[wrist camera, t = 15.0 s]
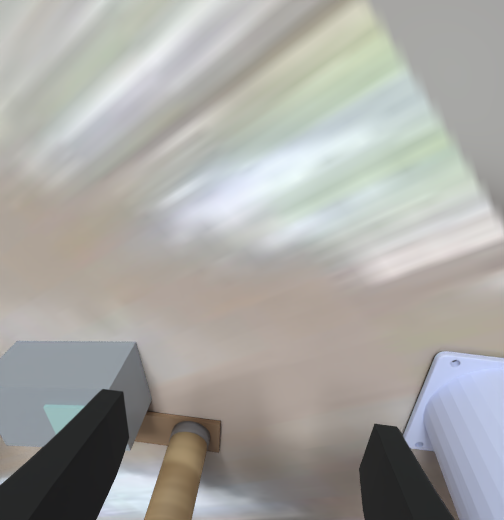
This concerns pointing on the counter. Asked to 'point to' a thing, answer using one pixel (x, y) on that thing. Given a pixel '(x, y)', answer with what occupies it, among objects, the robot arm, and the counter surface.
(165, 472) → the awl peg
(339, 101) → the counter surface
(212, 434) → the strip
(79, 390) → the finder block
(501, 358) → the robot arm
